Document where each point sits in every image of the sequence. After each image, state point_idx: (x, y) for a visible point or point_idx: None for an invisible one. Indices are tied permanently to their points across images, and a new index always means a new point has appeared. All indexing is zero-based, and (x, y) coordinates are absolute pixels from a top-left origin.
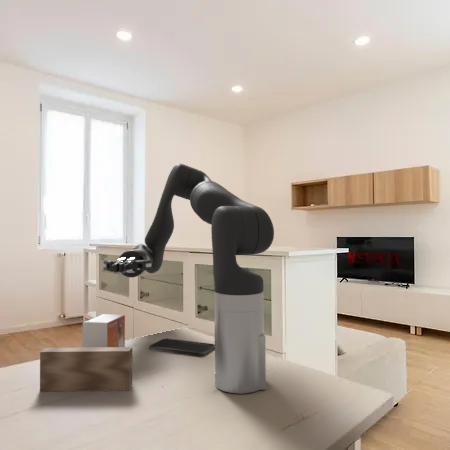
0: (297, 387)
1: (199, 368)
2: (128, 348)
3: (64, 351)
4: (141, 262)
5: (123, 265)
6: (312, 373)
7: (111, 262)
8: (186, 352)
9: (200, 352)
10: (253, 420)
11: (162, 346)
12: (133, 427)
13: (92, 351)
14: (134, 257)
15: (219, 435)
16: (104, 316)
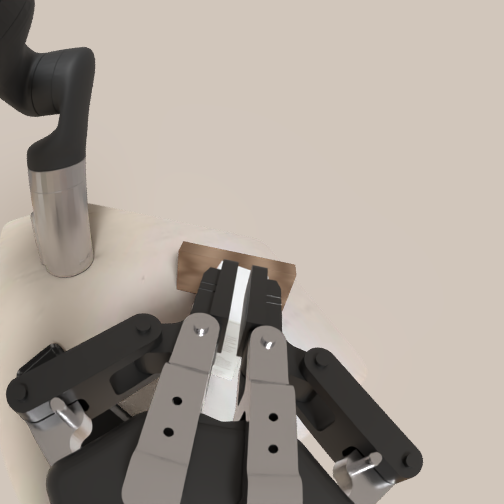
0: (35, 243)
1: (82, 306)
2: (184, 247)
3: (265, 259)
4: (94, 342)
5: (216, 270)
6: (2, 257)
7: (316, 349)
8: None
9: (54, 350)
10: (99, 221)
11: (107, 415)
12: (180, 233)
13: (229, 251)
14: (135, 476)
15: (128, 217)
16: (237, 299)
